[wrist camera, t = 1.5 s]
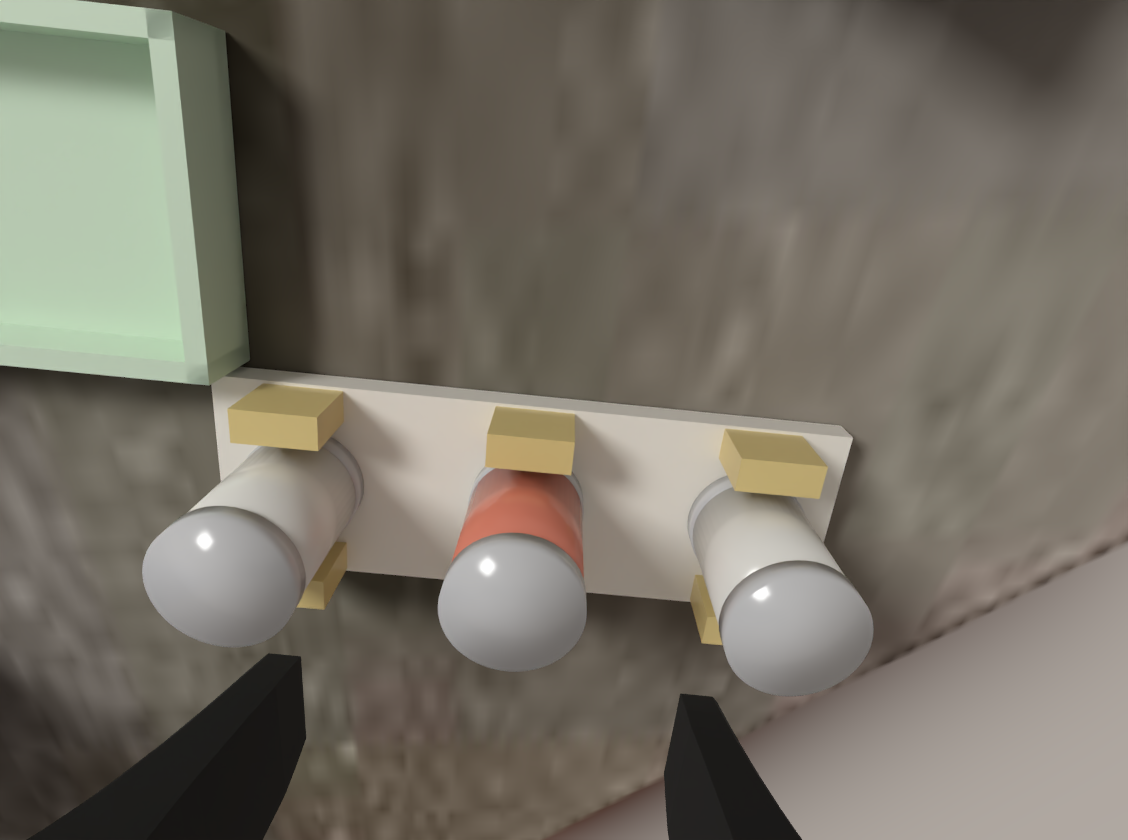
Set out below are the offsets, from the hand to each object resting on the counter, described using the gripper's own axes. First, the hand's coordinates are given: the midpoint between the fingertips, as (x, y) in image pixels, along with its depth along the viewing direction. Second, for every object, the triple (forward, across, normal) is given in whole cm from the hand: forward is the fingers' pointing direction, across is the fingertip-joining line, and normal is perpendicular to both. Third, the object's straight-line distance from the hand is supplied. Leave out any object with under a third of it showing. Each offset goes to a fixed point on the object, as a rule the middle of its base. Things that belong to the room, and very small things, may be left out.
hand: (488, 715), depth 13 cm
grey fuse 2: (+9, -7, 0) cm, 12 cm away
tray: (+10, +14, -8) cm, 19 cm away
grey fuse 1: (+9, +7, 0) cm, 11 cm away
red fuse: (+9, 0, 0) cm, 9 cm away
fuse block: (+10, 0, 0) cm, 10 cm away
